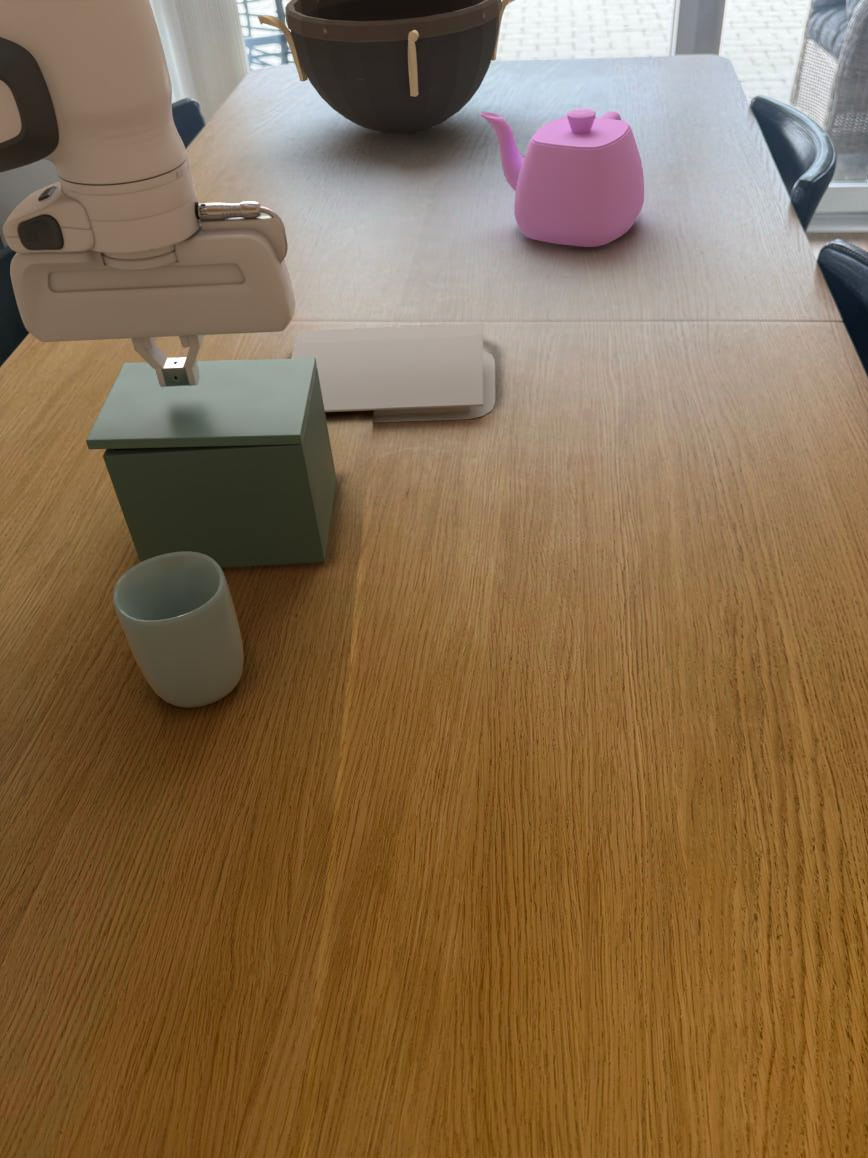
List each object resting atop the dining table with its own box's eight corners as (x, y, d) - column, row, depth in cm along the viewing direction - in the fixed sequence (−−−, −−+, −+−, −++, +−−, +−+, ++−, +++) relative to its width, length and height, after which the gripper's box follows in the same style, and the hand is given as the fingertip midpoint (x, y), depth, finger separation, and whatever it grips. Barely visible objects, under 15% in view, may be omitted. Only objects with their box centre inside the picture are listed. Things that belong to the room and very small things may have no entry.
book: (295, 356, 115) (289, 324, 112) (495, 348, 114) (493, 315, 111) (273, 426, 104) (266, 392, 101) (495, 418, 103) (493, 384, 100)
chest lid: (88, 450, 77) (85, 440, 77) (126, 371, 87) (123, 362, 86) (301, 444, 77) (300, 435, 77) (317, 366, 87) (315, 357, 86)
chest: (145, 578, 86) (102, 456, 78) (174, 494, 95) (138, 377, 87) (326, 568, 86) (302, 445, 77) (337, 485, 95) (317, 367, 87)
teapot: (666, 206, 143) (675, 90, 133) (612, 262, 130) (618, 138, 119) (521, 188, 151) (519, 77, 141) (457, 239, 138) (450, 121, 128)
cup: (160, 737, 72) (120, 636, 66) (142, 669, 78) (103, 569, 71) (265, 702, 74) (236, 601, 68) (240, 639, 80) (211, 538, 73)
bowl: (428, 176, 157) (417, 30, 144) (261, 146, 172) (236, 12, 159) (543, 114, 178) (542, -19, 165) (385, 92, 193) (372, -31, 180)
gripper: (285, 184, 73) (313, 358, 83) (7, 197, 73) (67, 369, 83) (274, 216, 69) (305, 396, 78) (-22, 229, 69) (44, 408, 78)
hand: (180, 383), depth 81 cm, fingers closed
